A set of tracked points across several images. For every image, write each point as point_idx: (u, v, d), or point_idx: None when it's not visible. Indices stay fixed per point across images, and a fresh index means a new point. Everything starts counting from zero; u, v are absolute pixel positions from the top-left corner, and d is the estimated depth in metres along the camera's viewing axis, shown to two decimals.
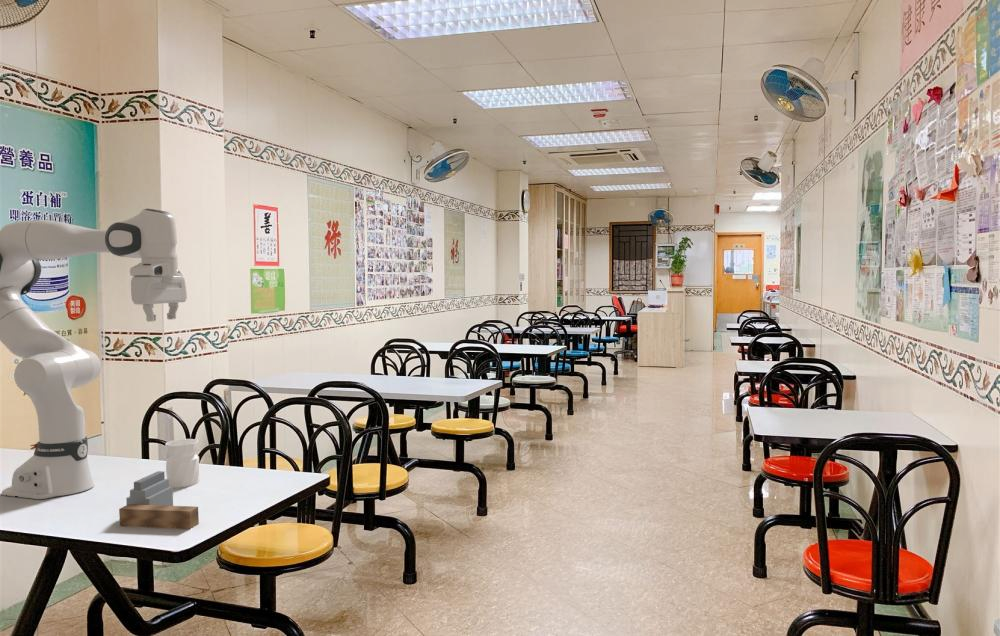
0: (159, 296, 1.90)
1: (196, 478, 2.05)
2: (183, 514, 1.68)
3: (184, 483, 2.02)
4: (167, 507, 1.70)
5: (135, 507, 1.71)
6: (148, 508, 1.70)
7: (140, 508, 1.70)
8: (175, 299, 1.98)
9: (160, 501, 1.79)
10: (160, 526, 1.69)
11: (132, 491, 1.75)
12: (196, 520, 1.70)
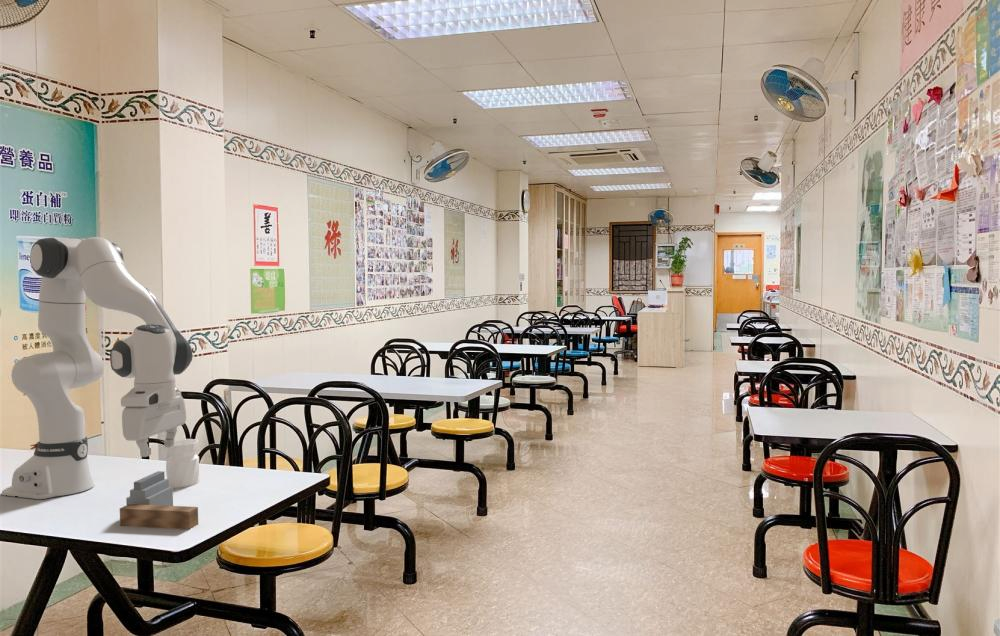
0: (155, 427, 1.66)
1: (196, 478, 2.05)
2: (182, 514, 1.68)
3: (184, 483, 2.02)
4: (167, 508, 1.70)
5: (135, 506, 1.71)
6: (148, 508, 1.70)
7: (140, 508, 1.70)
8: (173, 424, 1.73)
9: (160, 501, 1.79)
10: (160, 526, 1.69)
11: (132, 491, 1.75)
12: (196, 520, 1.70)
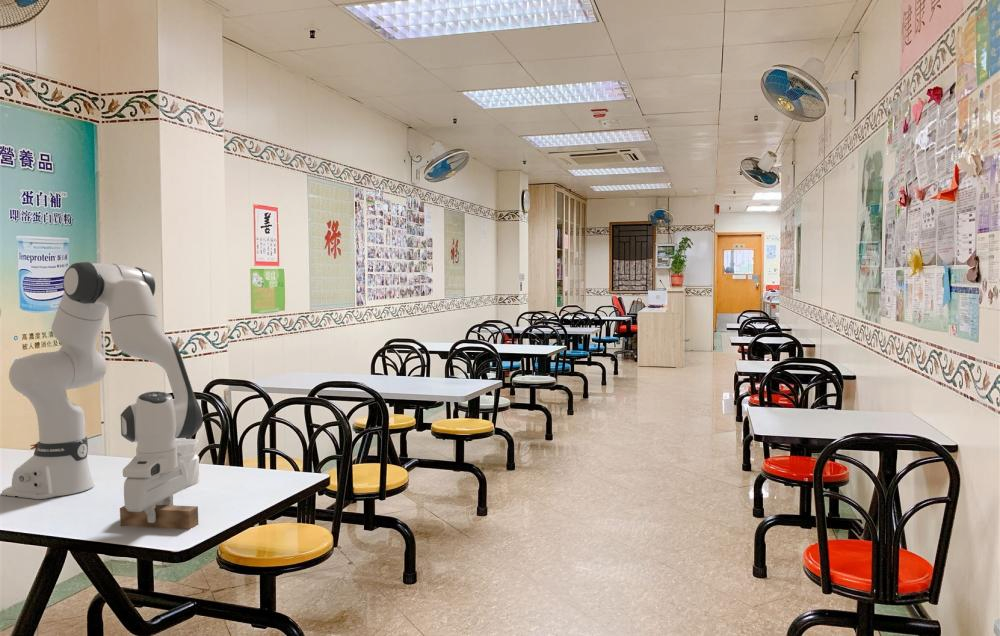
0: (156, 496, 1.67)
1: (196, 478, 2.05)
2: (182, 514, 1.68)
3: None
4: (167, 507, 1.70)
5: None
6: None
7: None
8: (174, 490, 1.74)
9: (160, 501, 1.79)
10: (160, 526, 1.69)
11: None
12: (196, 519, 1.70)
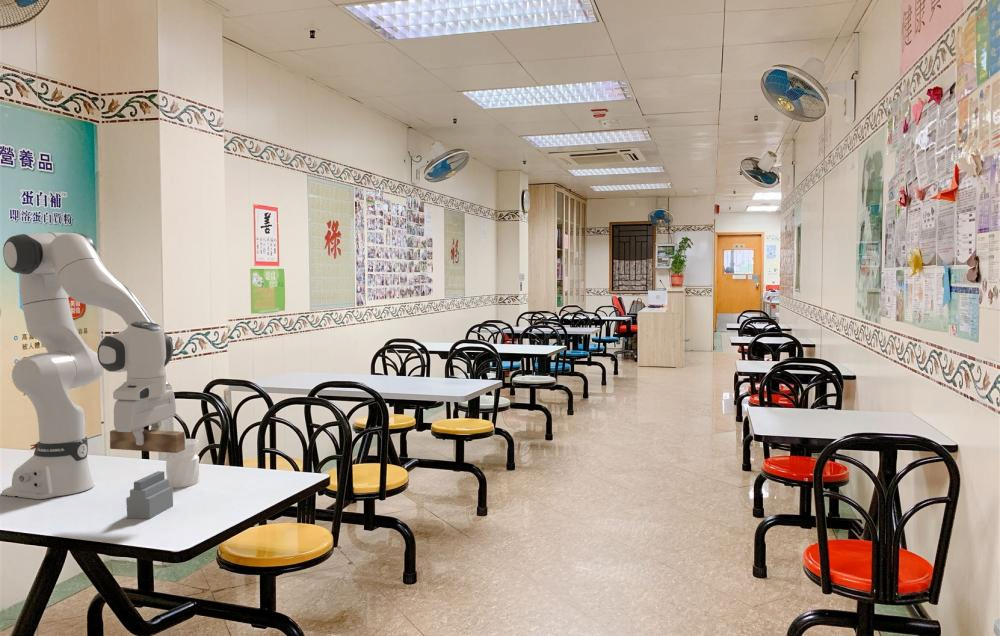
0: (145, 419, 1.75)
1: (196, 478, 2.05)
2: (169, 437, 1.76)
3: (184, 483, 2.02)
4: (155, 431, 1.78)
5: None
6: None
7: None
8: (163, 417, 1.82)
9: (160, 501, 1.79)
10: (148, 448, 1.77)
11: (132, 491, 1.75)
12: (182, 444, 1.78)
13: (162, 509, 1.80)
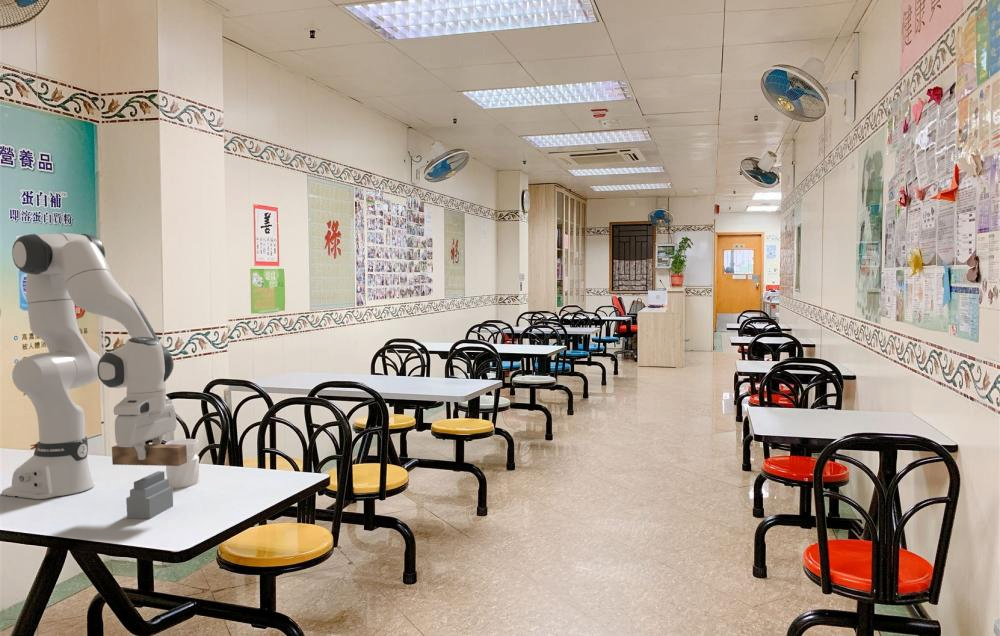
0: (146, 434, 1.76)
1: (196, 478, 2.05)
2: (171, 451, 1.77)
3: (184, 483, 2.02)
4: (156, 445, 1.79)
5: None
6: None
7: None
8: (164, 431, 1.83)
9: (160, 501, 1.79)
10: (150, 462, 1.78)
11: (132, 491, 1.75)
12: (184, 457, 1.79)
13: (162, 509, 1.80)
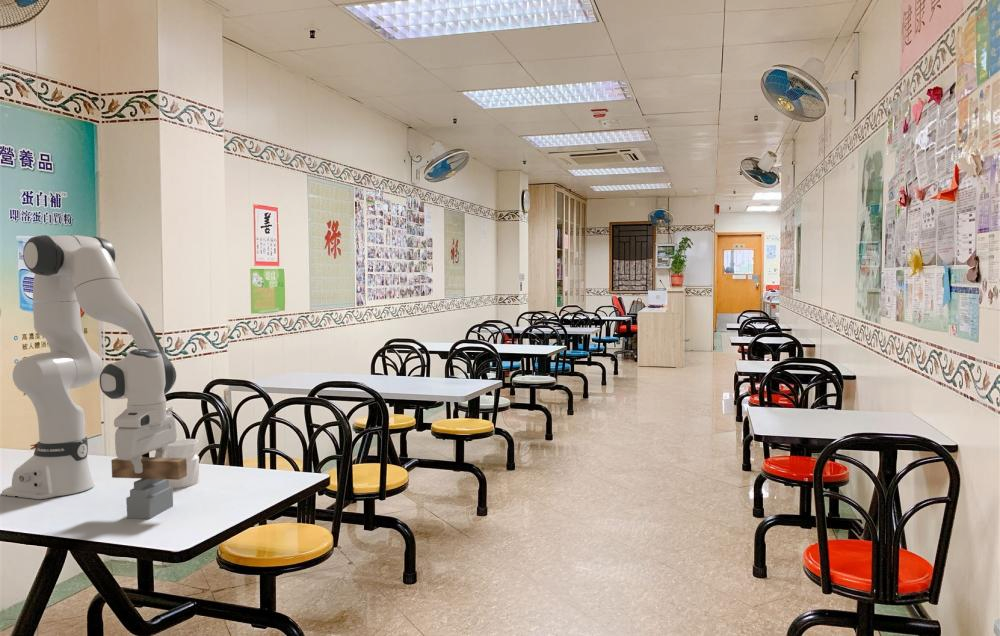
0: (146, 446, 1.76)
1: (196, 478, 2.05)
2: (171, 464, 1.77)
3: (184, 483, 2.02)
4: (156, 459, 1.80)
5: None
6: None
7: None
8: (164, 443, 1.83)
9: (160, 501, 1.79)
10: (150, 476, 1.78)
11: (132, 491, 1.75)
12: (184, 470, 1.80)
13: (162, 509, 1.80)
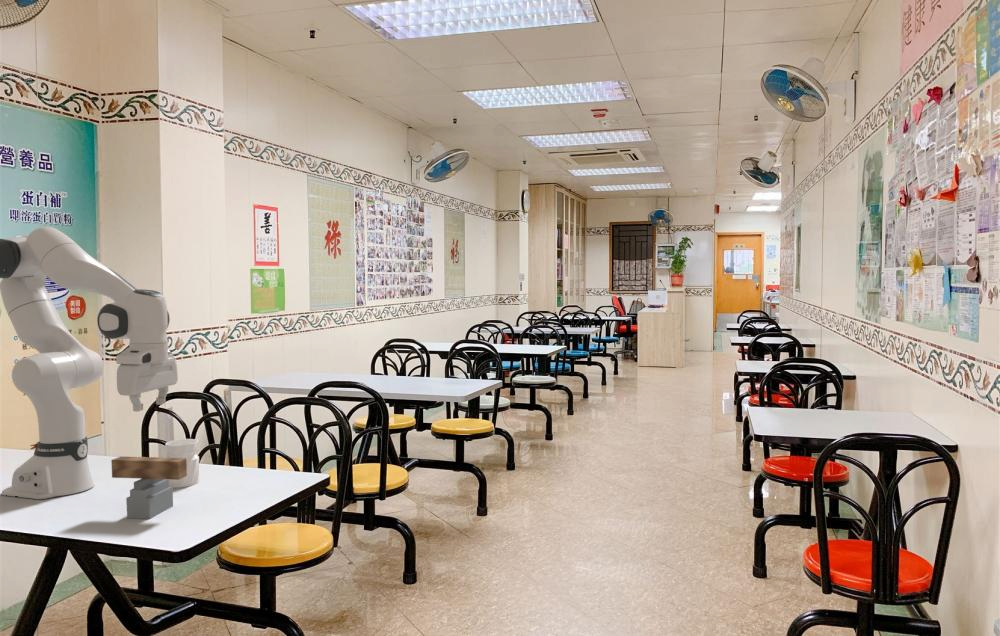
0: (147, 384, 1.79)
1: (196, 478, 2.05)
2: (171, 464, 1.77)
3: (184, 483, 2.02)
4: (156, 459, 1.80)
5: (126, 458, 1.80)
6: (139, 459, 1.79)
7: (131, 459, 1.79)
8: (165, 383, 1.86)
9: (160, 501, 1.79)
10: (150, 476, 1.78)
11: (132, 491, 1.75)
12: (184, 470, 1.80)
13: (162, 509, 1.80)
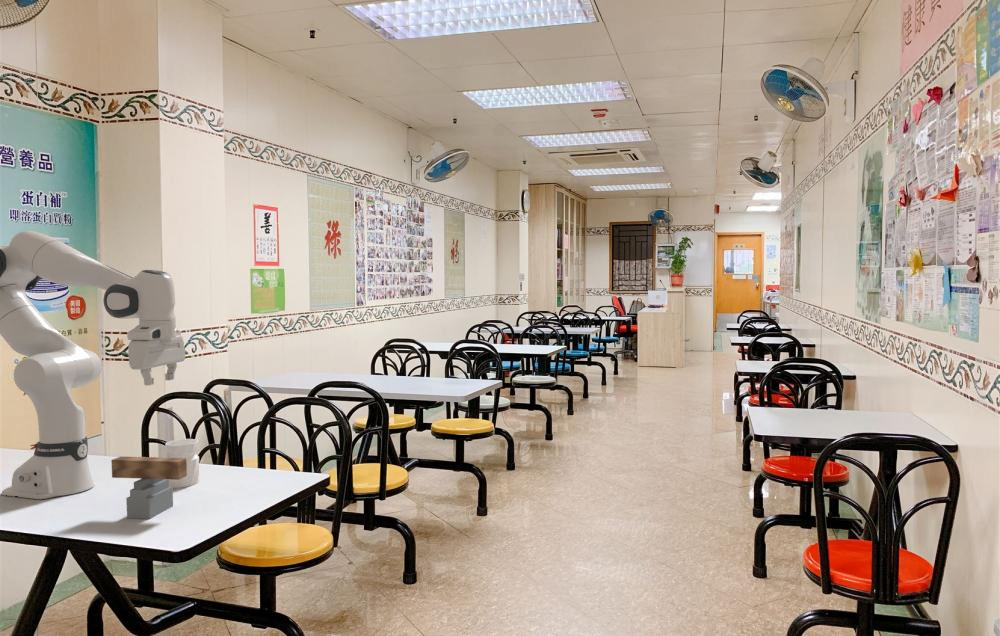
0: (157, 359, 1.87)
1: (196, 478, 2.05)
2: (171, 464, 1.77)
3: (184, 483, 2.02)
4: (156, 459, 1.80)
5: (126, 458, 1.80)
6: (139, 459, 1.79)
7: (131, 459, 1.79)
8: (173, 360, 1.95)
9: (160, 501, 1.79)
10: (150, 476, 1.78)
11: (132, 491, 1.75)
12: (184, 470, 1.80)
13: (162, 509, 1.80)
